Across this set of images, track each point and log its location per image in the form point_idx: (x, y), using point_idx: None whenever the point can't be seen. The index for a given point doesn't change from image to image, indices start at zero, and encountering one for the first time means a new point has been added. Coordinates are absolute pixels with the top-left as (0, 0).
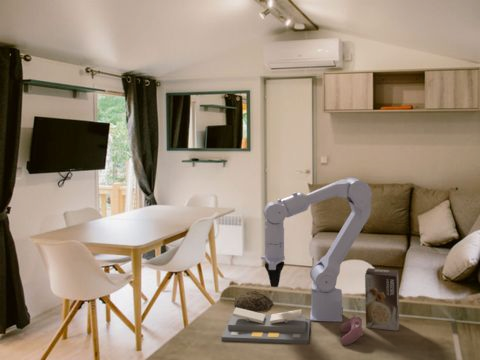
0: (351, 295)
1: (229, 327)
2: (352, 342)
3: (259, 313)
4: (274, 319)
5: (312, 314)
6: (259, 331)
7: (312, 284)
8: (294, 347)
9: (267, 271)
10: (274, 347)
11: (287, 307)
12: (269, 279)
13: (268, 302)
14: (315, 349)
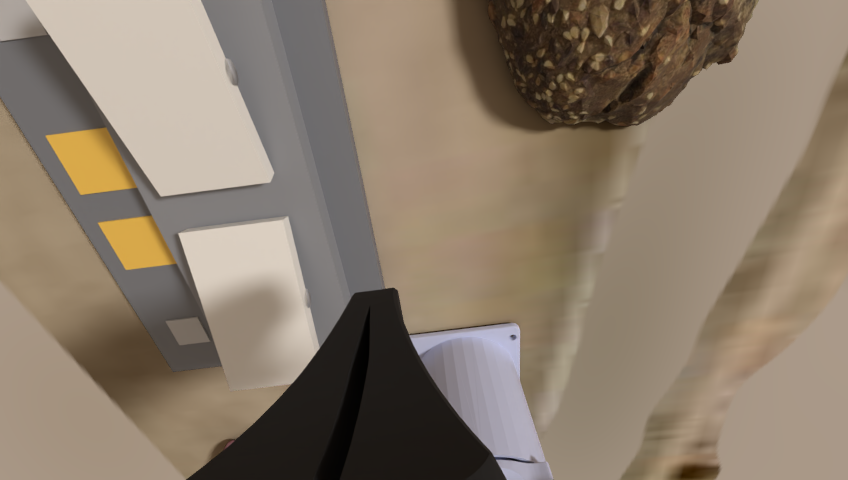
0: (704, 417)
1: None
2: None
3: (243, 149)
4: (197, 257)
5: (440, 349)
6: None
7: (518, 474)
8: (120, 325)
9: (239, 438)
10: (65, 257)
11: (570, 215)
12: (326, 339)
13: (581, 116)
14: (149, 384)
